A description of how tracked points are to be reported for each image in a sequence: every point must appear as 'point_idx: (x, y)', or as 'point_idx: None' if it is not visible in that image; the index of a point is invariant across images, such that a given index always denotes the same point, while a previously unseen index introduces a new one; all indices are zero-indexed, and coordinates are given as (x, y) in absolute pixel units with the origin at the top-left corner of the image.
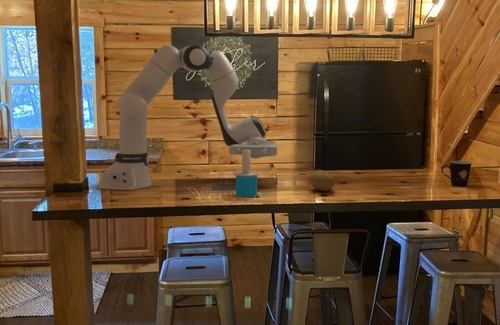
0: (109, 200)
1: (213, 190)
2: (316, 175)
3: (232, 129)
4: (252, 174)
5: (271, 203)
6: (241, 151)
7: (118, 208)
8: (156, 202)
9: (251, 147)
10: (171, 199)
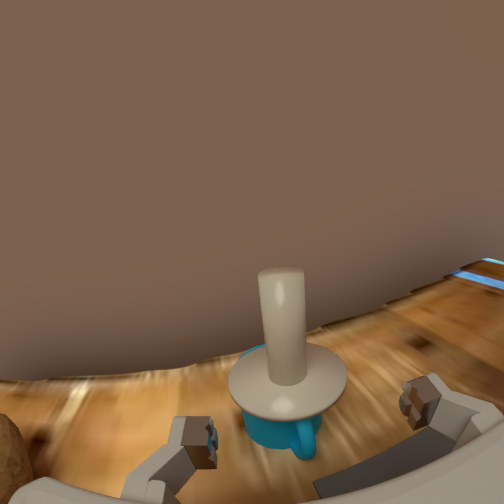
0: (495, 292)
1: (429, 426)
2: (3, 438)
3: None
4: (251, 356)
5: (194, 368)
6: (419, 413)
7: (441, 280)
8: (436, 309)
9: (364, 489)
10: (437, 329)
